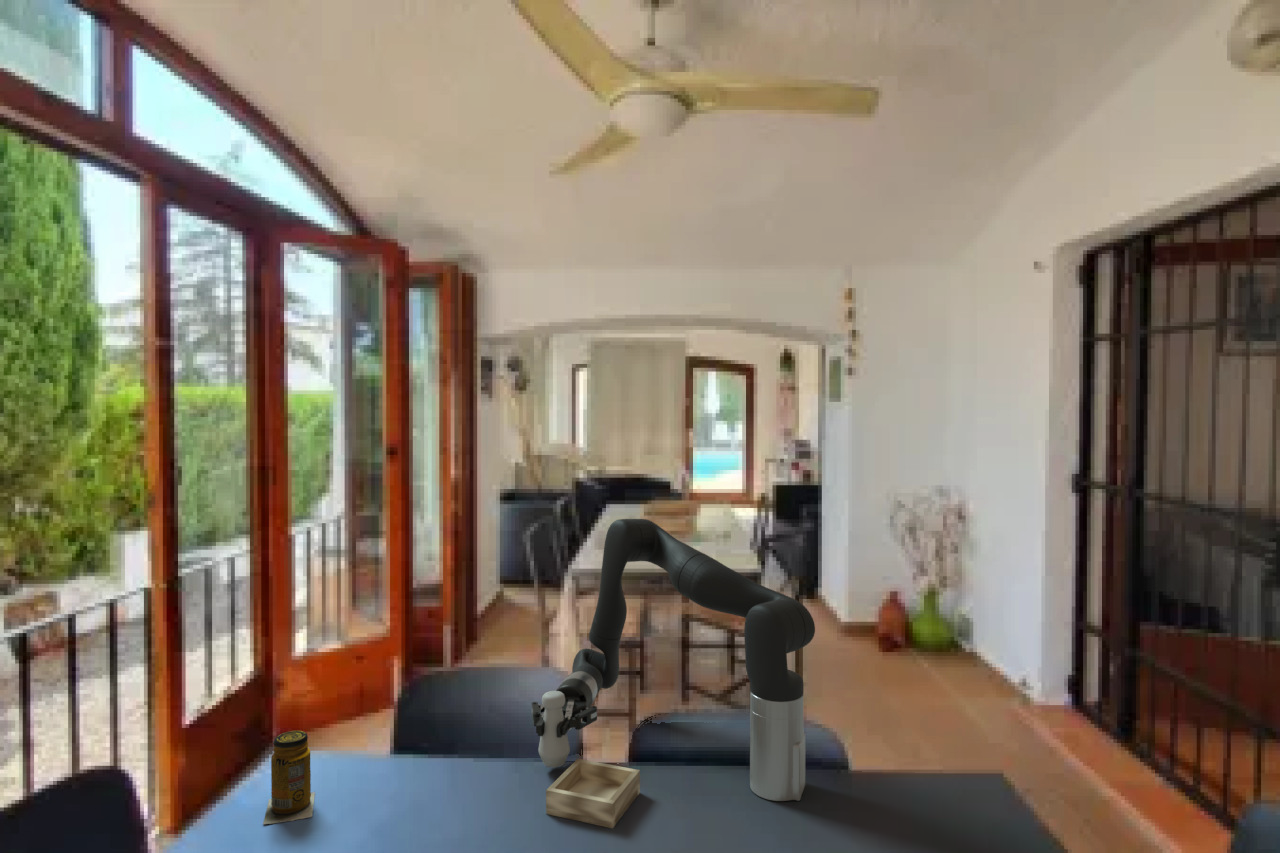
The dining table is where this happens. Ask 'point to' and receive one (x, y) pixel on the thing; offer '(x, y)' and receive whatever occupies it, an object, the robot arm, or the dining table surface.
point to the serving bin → (593, 793)
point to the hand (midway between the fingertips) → (549, 731)
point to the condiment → (290, 779)
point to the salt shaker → (553, 731)
